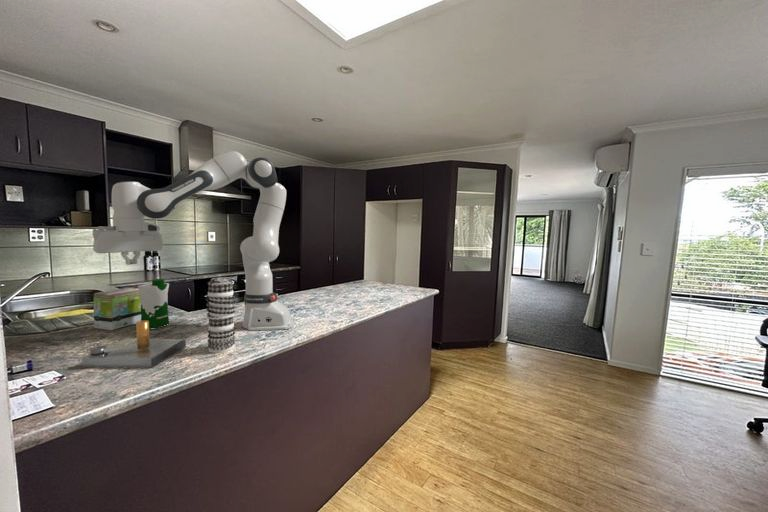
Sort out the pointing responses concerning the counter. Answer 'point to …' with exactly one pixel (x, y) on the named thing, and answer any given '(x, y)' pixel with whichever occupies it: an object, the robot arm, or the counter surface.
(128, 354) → the grey lever board
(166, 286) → the milk carton
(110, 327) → the tea box
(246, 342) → the counter surface
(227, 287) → the decorative candle
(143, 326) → the lever
